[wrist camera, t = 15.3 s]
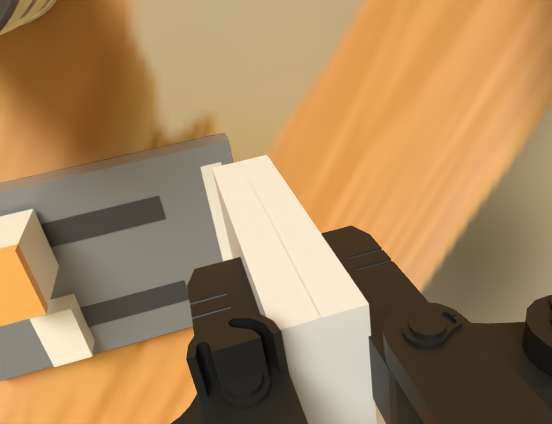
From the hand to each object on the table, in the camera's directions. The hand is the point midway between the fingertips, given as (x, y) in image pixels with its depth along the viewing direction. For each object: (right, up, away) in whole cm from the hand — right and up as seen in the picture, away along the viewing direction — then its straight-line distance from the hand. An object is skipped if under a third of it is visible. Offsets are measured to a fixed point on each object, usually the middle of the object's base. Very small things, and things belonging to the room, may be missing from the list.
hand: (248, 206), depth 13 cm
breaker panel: (-14, -4, +26) cm, 30 cm away
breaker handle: (-17, -2, +22) cm, 28 cm away
